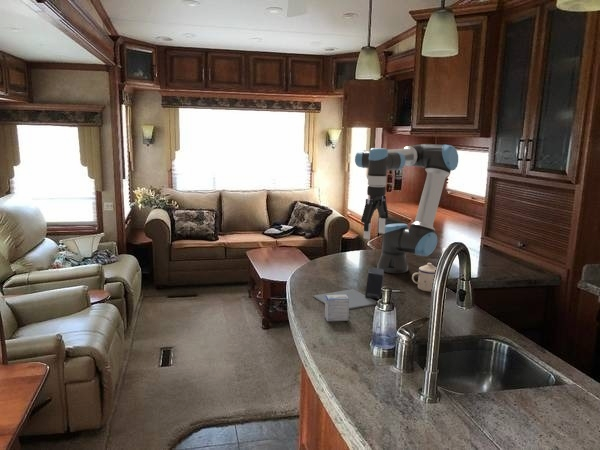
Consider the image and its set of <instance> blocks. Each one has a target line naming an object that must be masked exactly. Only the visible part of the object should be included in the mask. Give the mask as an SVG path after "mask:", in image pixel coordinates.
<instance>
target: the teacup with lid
mask: <svg viewBox="0 0 600 450" xmlns="http://www.w3.org/2000/svg"><path fill="white" fill-rule="evenodd" d="M436 268H437V267H436V266H434V265H433V263H431V262H427V264H424V265H422V266H420V267H419V268H418V272H414V273H413V274H412V276H411V280H412V281H413V283H414V284H417V288H418V290H420V291H423V292H431V289H432V283H433V279H434V275H435V270H436ZM416 275H418V280H417V281H416V280H415V276H416Z"/></svg>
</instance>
